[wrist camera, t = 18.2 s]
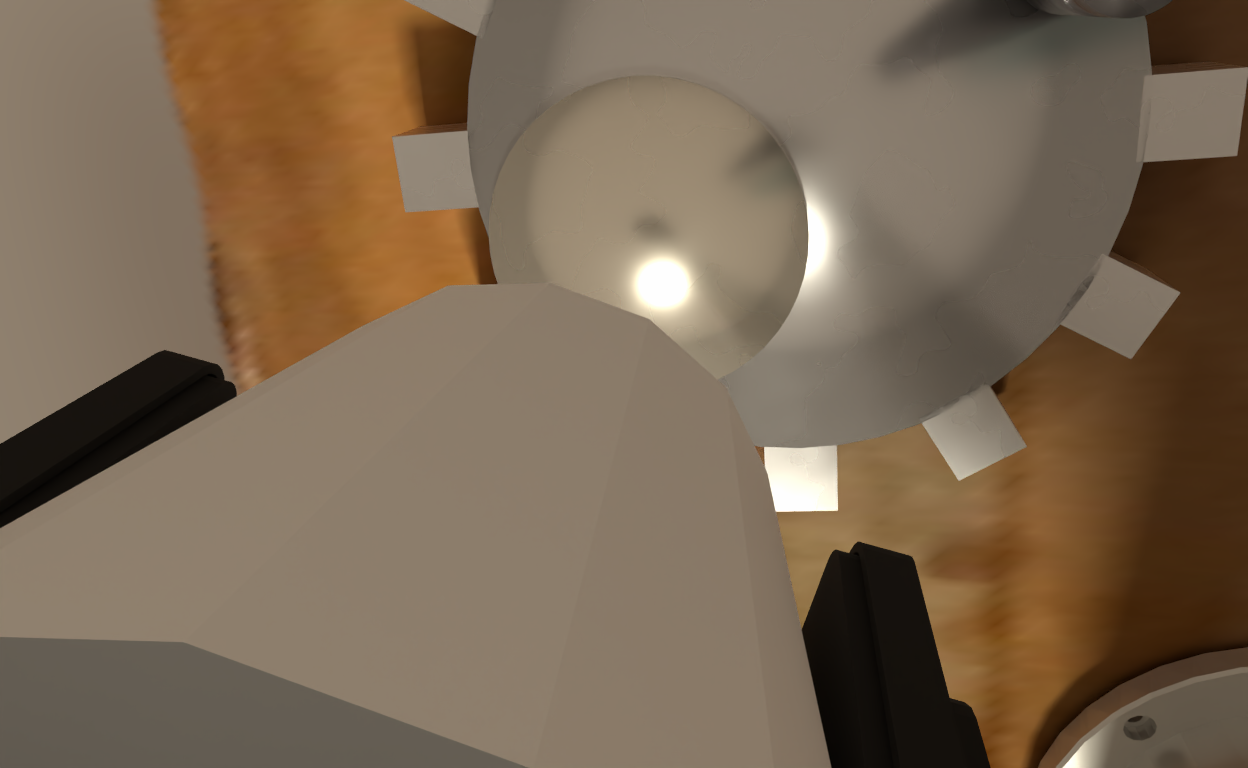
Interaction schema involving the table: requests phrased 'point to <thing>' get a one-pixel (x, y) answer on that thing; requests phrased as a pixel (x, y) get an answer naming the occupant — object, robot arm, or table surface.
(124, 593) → the white cup
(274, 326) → the table surface
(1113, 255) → the index wheel
